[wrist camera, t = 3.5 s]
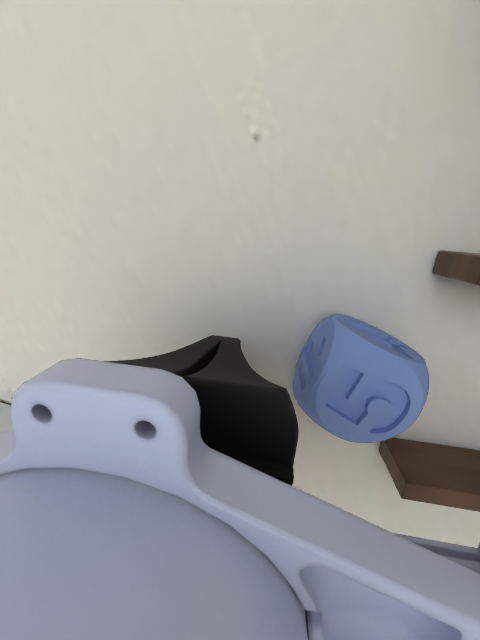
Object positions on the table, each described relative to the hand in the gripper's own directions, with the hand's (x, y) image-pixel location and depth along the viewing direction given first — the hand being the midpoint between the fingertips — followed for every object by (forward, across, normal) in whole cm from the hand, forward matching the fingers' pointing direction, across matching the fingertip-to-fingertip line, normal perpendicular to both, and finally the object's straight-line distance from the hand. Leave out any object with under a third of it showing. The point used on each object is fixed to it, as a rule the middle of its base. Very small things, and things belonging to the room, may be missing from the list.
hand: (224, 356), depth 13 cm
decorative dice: (+2, -6, 0) cm, 6 cm away
